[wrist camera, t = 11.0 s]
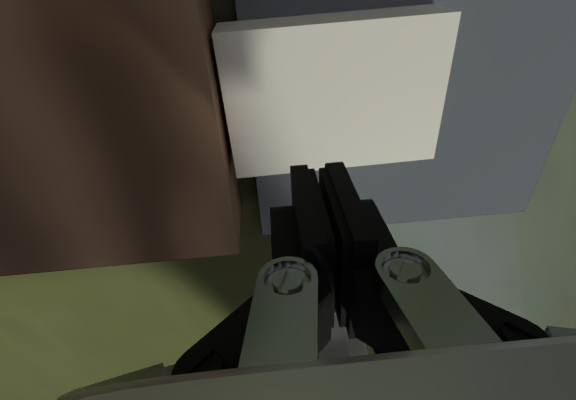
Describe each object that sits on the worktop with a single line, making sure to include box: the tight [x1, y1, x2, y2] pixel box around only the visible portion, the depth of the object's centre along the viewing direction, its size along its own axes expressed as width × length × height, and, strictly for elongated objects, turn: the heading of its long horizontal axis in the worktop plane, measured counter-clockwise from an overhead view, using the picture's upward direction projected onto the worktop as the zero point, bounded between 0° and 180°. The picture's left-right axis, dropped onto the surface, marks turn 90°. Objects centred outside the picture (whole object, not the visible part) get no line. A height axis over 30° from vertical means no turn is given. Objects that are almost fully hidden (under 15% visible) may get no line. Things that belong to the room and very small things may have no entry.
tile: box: [211, 4, 462, 178], centre depth 15 cm, size 9×6×2 cm, turn 94°
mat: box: [235, 0, 576, 235], centre depth 18 cm, size 16×14×1 cm
